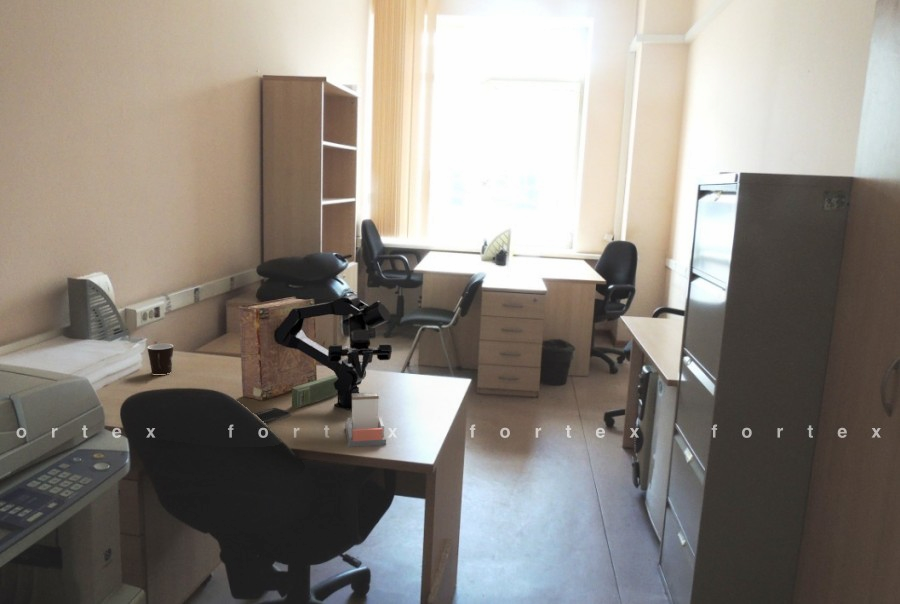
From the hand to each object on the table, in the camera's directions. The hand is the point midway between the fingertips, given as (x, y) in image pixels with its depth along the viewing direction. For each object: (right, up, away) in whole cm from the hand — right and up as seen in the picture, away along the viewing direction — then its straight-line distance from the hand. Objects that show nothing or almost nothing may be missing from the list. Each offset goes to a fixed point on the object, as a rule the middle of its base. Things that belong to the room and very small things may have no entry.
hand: (361, 377), depth 187 cm
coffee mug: (-79, -4, +43) cm, 90 cm away
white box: (+2, -13, -8) cm, 16 cm away
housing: (+2, -15, -8) cm, 17 cm away
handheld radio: (-16, -10, +23) cm, 30 cm away
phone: (-29, -13, +2) cm, 32 cm away
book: (-32, -8, +30) cm, 44 cm away
